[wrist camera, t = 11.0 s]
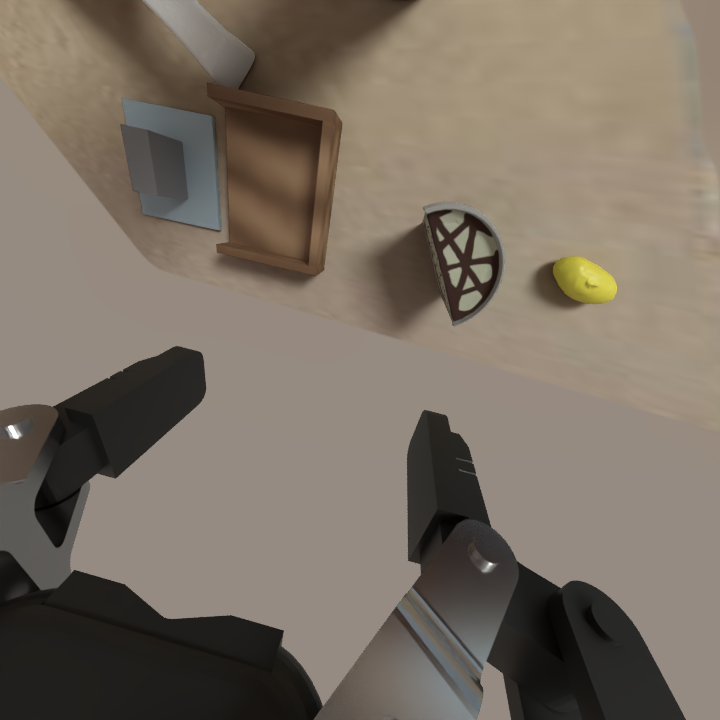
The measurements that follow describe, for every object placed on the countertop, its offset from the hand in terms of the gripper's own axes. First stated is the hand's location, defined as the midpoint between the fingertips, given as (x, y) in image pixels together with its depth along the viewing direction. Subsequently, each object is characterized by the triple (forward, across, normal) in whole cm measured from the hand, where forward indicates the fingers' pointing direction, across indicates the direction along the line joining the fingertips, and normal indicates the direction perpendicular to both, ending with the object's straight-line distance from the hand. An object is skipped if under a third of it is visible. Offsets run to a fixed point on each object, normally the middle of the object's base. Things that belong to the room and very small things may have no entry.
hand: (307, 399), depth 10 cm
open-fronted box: (+30, +15, -6) cm, 34 cm away
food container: (+30, -9, -4) cm, 32 cm away
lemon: (+30, -24, -4) cm, 39 cm away
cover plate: (+31, +28, -6) cm, 42 cm away
